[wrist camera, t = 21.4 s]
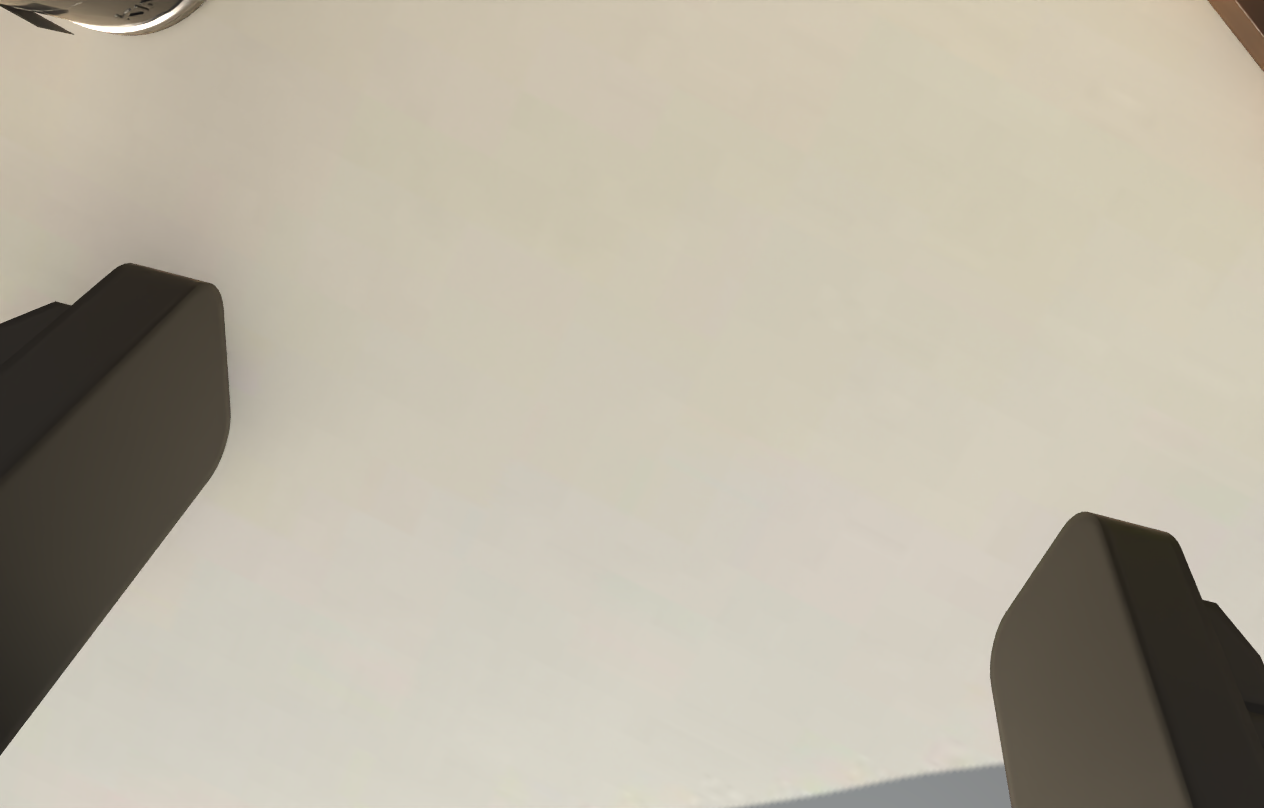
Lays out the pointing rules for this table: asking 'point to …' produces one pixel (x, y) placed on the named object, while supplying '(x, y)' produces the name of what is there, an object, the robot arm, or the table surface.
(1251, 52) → the cutting board
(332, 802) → the table surface
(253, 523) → the table surface
